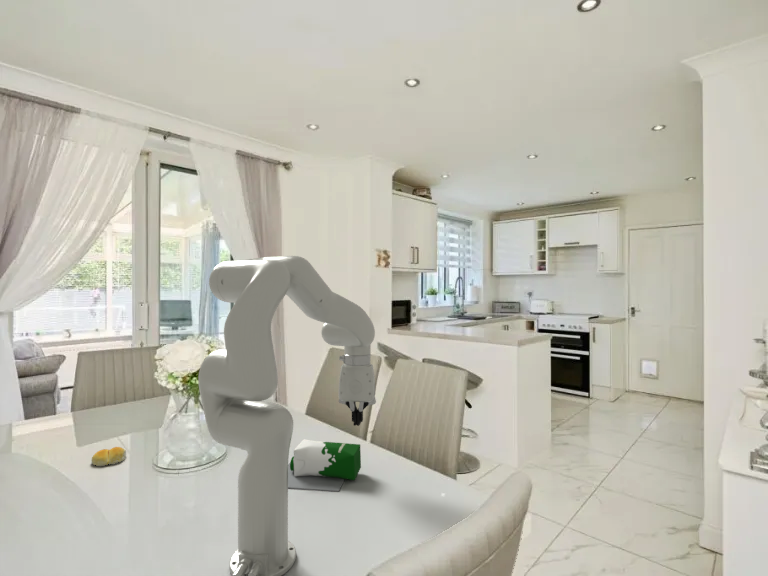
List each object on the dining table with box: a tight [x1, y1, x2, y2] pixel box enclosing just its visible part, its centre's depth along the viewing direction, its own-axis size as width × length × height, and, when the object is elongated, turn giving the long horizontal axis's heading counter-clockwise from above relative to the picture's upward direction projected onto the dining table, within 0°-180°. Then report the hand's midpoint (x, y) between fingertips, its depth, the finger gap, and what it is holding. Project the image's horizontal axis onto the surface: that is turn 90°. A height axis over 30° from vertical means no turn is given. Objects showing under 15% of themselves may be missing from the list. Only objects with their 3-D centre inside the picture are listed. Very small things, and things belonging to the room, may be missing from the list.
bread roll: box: [91, 446, 127, 467], centre depth 127 cm, size 8×9×4 cm
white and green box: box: [290, 438, 362, 481], centre depth 118 cm, size 9×9×20 cm
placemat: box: [288, 462, 345, 492], centre depth 117 cm, size 16×19×1 cm
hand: (357, 424), depth 116 cm, fingers closed
